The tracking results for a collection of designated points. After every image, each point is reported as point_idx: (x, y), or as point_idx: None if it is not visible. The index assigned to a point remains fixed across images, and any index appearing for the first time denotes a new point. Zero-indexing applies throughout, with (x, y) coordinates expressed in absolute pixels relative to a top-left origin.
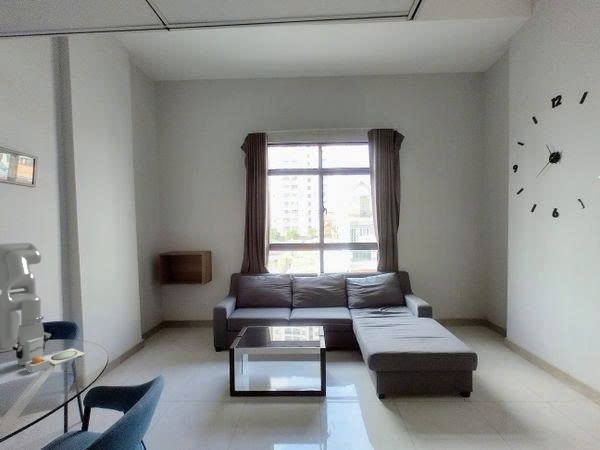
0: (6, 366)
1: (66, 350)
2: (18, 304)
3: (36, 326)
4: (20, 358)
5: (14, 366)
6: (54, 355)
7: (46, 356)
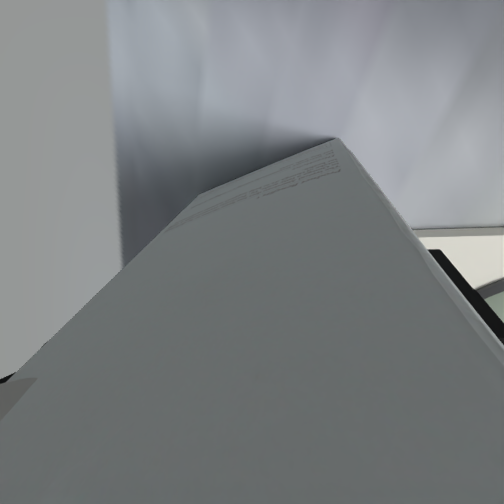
0: (121, 131)
1: None
2: None
3: None
4: None
5: (177, 198)
6: (495, 296)
7: (444, 242)
